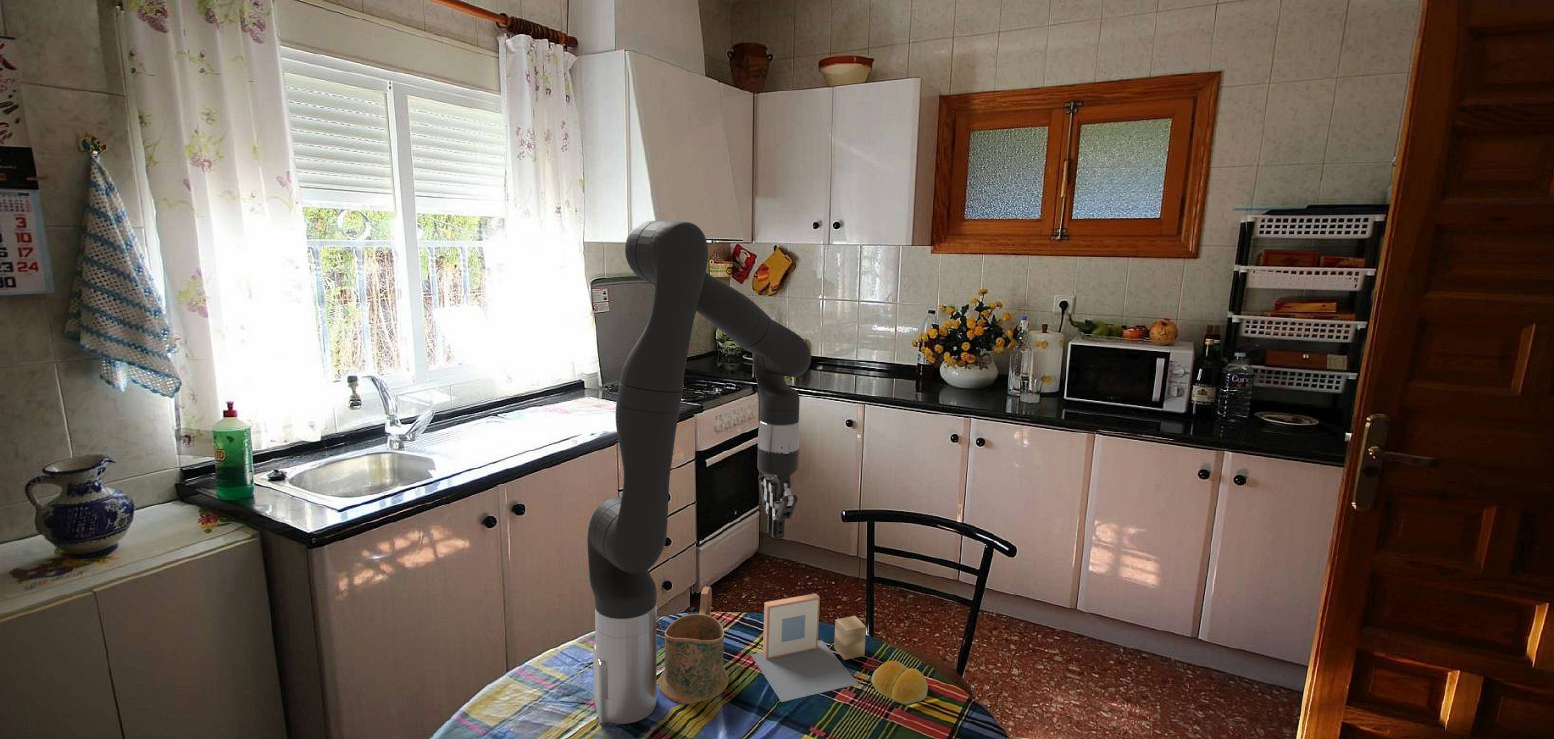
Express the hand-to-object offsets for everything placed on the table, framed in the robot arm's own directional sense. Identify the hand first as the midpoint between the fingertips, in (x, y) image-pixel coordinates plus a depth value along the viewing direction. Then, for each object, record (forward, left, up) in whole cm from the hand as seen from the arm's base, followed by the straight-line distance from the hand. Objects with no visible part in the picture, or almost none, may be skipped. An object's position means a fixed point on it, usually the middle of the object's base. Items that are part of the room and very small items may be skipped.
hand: (775, 534), depth 132 cm
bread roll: (+13, -24, -20) cm, 33 cm away
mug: (-17, -8, -19) cm, 27 cm away
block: (+10, -12, -19) cm, 25 cm away
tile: (0, -8, -19) cm, 20 cm away
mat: (0, -14, -19) cm, 24 cm away
